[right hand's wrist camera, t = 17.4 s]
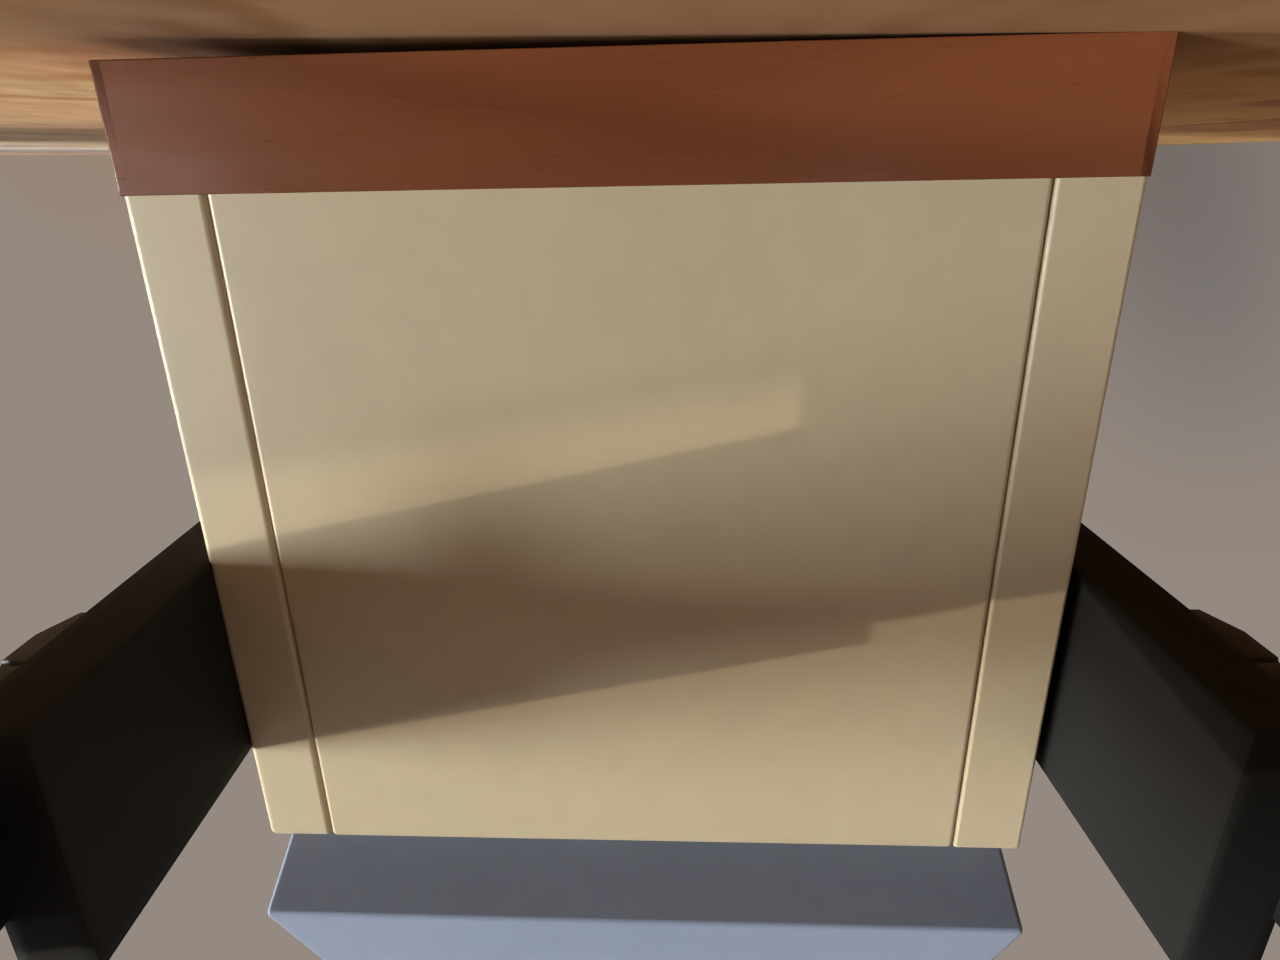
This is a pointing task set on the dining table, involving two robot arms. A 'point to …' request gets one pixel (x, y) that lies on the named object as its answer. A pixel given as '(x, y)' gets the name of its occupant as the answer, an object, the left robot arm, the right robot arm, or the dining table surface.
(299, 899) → the lid
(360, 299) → the chest
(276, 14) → the dining table surface
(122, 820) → the right robot arm
